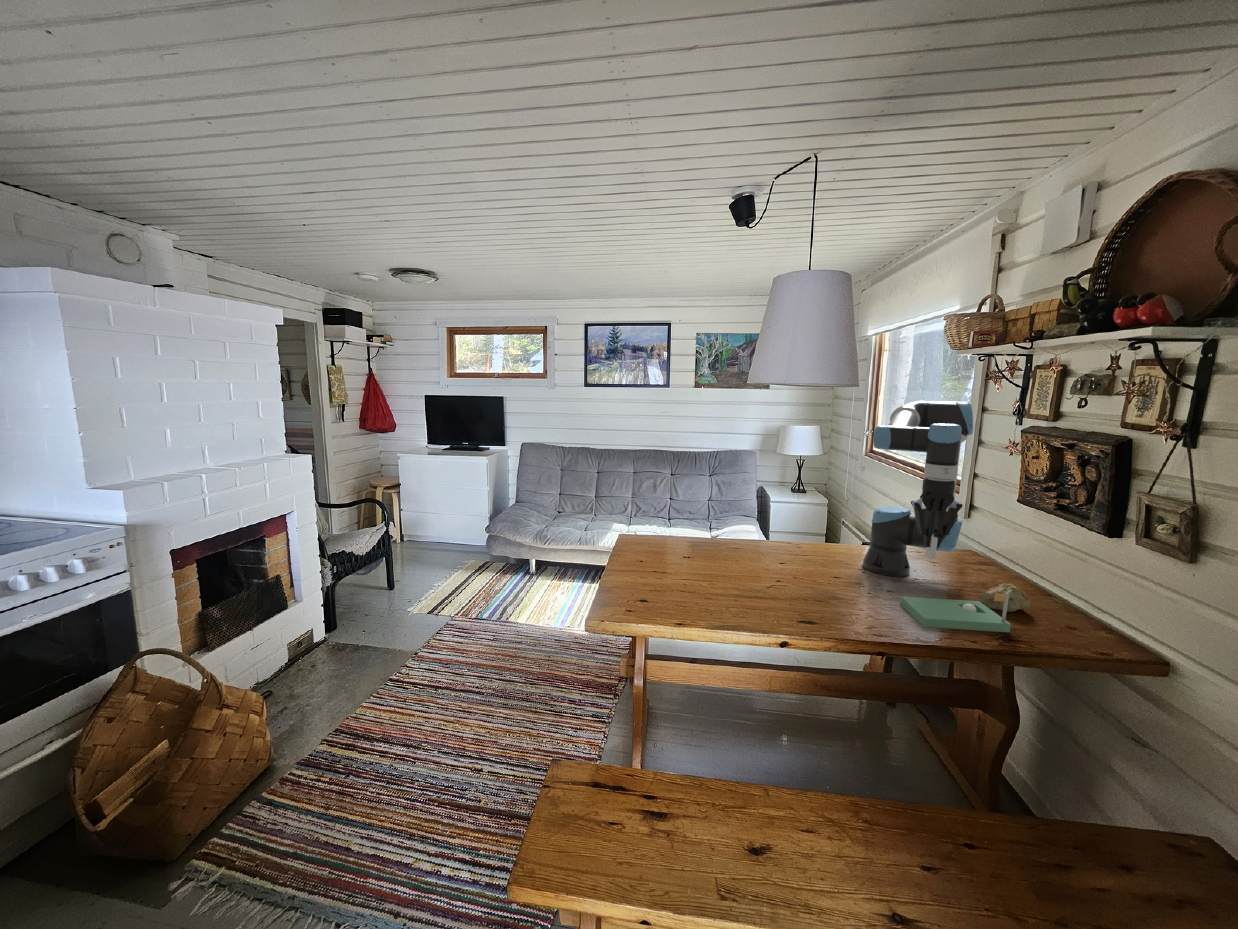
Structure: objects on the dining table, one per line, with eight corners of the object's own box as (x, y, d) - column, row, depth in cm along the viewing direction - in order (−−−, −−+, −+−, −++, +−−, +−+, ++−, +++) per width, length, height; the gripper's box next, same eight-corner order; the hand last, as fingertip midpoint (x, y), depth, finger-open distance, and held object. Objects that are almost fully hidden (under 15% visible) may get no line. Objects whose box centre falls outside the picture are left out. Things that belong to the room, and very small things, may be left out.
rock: (990, 623, 142) (979, 597, 140) (980, 606, 149) (969, 581, 148) (1037, 615, 136) (1026, 587, 135) (1024, 597, 144) (1013, 571, 142)
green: (900, 604, 144) (903, 572, 142) (977, 608, 141) (981, 576, 139) (923, 626, 130) (927, 591, 128) (1009, 632, 127) (1015, 596, 125)
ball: (956, 610, 138) (962, 599, 137) (967, 614, 138) (972, 604, 137) (965, 615, 134) (970, 605, 134) (975, 620, 134) (981, 609, 134)
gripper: (921, 480, 128) (912, 561, 132) (972, 481, 127) (961, 563, 131) (908, 475, 136) (900, 551, 140) (956, 476, 134) (946, 553, 138)
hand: (930, 557), depth 135 cm, fingers closed
